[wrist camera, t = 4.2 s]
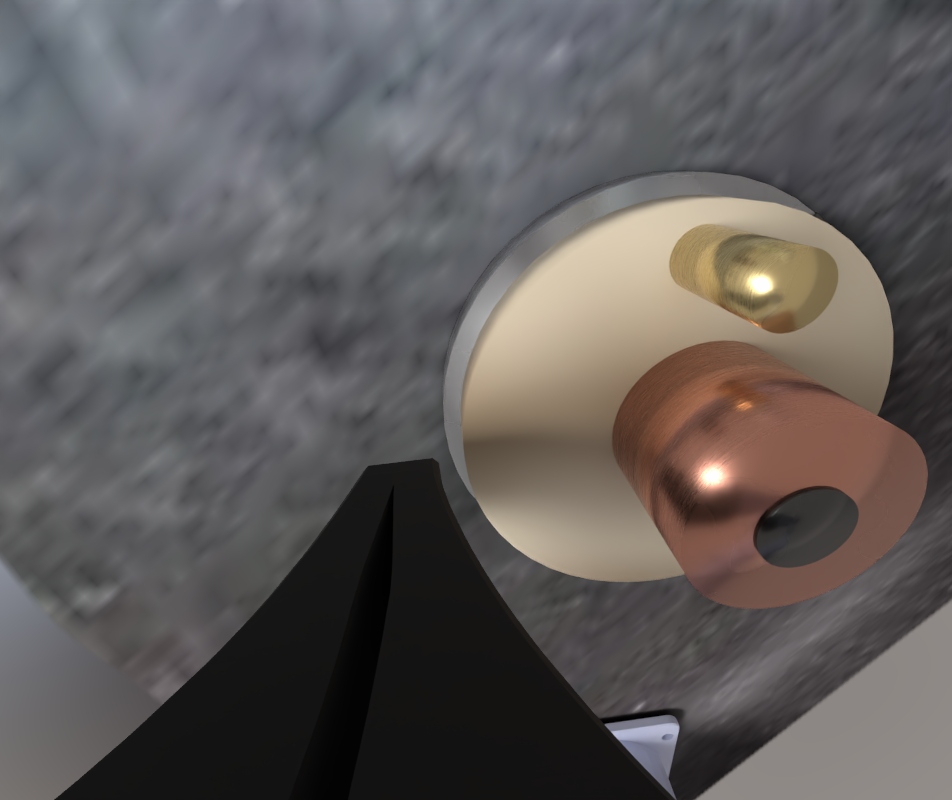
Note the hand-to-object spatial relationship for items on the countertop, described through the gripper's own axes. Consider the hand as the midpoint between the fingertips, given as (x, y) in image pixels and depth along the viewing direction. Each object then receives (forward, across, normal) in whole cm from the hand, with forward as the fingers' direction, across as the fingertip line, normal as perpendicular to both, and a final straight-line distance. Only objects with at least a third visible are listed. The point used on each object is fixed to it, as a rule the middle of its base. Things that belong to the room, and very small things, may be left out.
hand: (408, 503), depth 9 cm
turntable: (+3, -6, 0) cm, 7 cm away
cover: (+1, -6, 0) cm, 7 cm away
